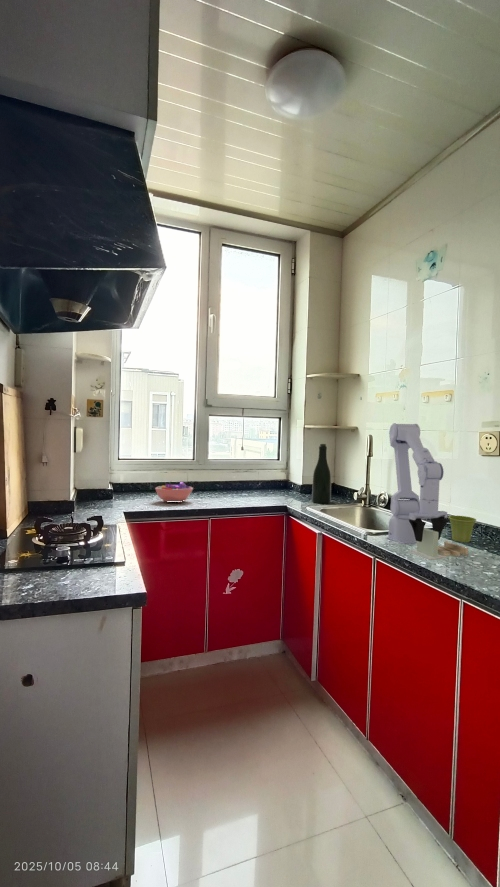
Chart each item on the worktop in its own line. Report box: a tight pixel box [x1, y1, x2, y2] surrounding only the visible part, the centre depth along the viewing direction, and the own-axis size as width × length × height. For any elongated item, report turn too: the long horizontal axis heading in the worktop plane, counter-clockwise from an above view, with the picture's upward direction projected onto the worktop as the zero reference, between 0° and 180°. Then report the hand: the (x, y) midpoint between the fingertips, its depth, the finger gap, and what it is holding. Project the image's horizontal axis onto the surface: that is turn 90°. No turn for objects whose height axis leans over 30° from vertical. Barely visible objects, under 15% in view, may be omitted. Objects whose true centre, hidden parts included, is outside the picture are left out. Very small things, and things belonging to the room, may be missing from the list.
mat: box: [408, 549, 447, 561], centre depth 141 cm, size 9×7×1 cm
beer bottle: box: [311, 443, 332, 505], centre depth 238 cm, size 10×10×33 cm
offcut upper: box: [438, 547, 450, 556], centre depth 143 cm, size 5×3×1 cm, turn 21°
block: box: [416, 527, 439, 557], centre depth 141 cm, size 7×2×8 cm, turn 22°
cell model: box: [154, 481, 194, 502], centre depth 227 cm, size 17×20×11 cm
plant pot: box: [448, 515, 477, 543], centre depth 161 cm, size 9×9×9 cm
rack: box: [438, 541, 469, 557], centre depth 145 cm, size 9×5×2 cm, turn 22°
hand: (427, 540), depth 141 cm, fingers open, 7 cm apart
